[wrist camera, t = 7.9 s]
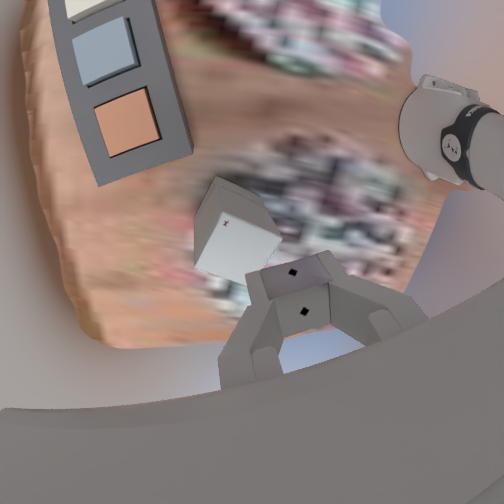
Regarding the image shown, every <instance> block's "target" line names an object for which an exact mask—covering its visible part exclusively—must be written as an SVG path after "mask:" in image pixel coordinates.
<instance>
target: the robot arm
mask: <svg viewBox="0 0 504 504" xmlns="http://www.w3.org/2000/svg"><path fill="white" fill-rule="evenodd" d="M432 82H433V84H432ZM399 133H400V140H401V144H402V147H403V149H404V151H405V153H406V155H407V157H408V158H409V159H410V160H411V161H412V162H413V163H414V164H416V165H417V166H419V167H420V168H421V169H422V171H423V173H424V174H425V176H426V177H427V178H428V179H430V180H436V179H438V178H442V179H444V180H447V181H449V182H451V183H454V184H456V185H460V184H461V183H464V182H466V183H467V184H468V185H470V186H472V187H475V188H478V189H480V190H487V191H489V192H490V193H492V194H494V195H495V196H497V197H499V198H500V199H502V200H503V201H504V115H501V114H500V113H499V112H497V111H496V110H494V109H492V108H491V107H490V106H489V105H487V104H484V103H482V102H480V99H479V97H478V94H477V91H475V90H472V89H467V88H464V87H462V86H459V85H456V84H454V83H451V82H448V81H445V80H442V79H439V78H436V77H433V76H430V75H423V76H422V78H421V79H420V82H419V85H418V87H417V89H416V90H415V91H414V92H413V93H412V94H411V95H410V96H409V98H408V99H407V101H406V102H405V104H404V106H403V109H402V112H401V116H400V122H399ZM245 280H246V284H247V288H248V292H249V296H250V300H251V304H252V305H250V306H247V308H246V310H245V312H244V313H243V315H242V317H241V319H240V320H239V322H238V324H237V326H236V327H235V329H234V331H233V333H232V334H231V336H230V338H229V340H228V341H227V343H226V345H225V346H224V349H223V350H222V352H221V354H220V355H219V357H218V367H219V376H220V385H221V390H218V391H214V392H209V393H204V394H198V395H193V396H187V397H182V398H176V399H169V400H163V401H156V402H148V403H140V404H131V405H122V406H112V407H98V408H80V409H21V408H4V409H2V410H1V411H0V504H504V278H503V279H501V280H500V281H498V282H496V283H495V284H493V285H492V286H490V287H488V288H486V289H485V290H483V291H481V292H480V293H478V294H476V295H475V296H473V297H471V298H469V299H467V300H465V301H464V302H462V303H460V304H458V305H456V306H454V307H452V308H450V309H448V310H447V311H444V312H443V313H440V314H438V315H436V316H434V317H432V318H431V319H429V318H428V317H427V315H426V314H425V313H424V312H423V310H422V309H421V308H420V307H419V306H418V304H417V303H416V302H415V300H414V299H413V298H412V297H411V296H409V295H406V294H403V293H401V292H398V291H395V290H393V289H390V288H387V287H385V286H382V285H379V284H376V283H374V282H371V281H368V280H365V279H363V278H360V277H357V276H354V275H350V276H348V275H347V273H346V272H345V270H344V269H343V268H342V266H341V265H340V264H339V262H338V261H337V259H336V258H335V257H334V255H333V254H332V253H331V251H329V250H326V251H323V252H320V253H317V254H315V255H312V256H309V257H305V258H302V259H299V260H295V261H292V262H287V263H284V264H280V265H276V266H272V267H268V268H265V269H261V270H257V271H253V272H250V273H246V274H245ZM330 323H331V325H333V326H335V327H336V328H338V329H339V330H341V331H343V332H344V333H346V334H347V335H349V336H351V337H352V338H354V339H355V340H357V341H359V342H360V343H362V344H364V345H365V347H363V348H361V349H358V350H355V351H353V352H350V353H348V354H345V355H342V356H339V357H336V358H333V359H330V360H327V361H325V362H322V363H318V364H315V365H312V366H309V367H306V368H303V369H300V370H296V371H293V372H290V373H286V374H283V371H282V368H281V365H280V361H279V358H278V355H279V352H280V349H281V346H282V343H283V340H284V339H283V338H285V337H288V336H291V335H294V334H297V333H300V332H303V331H306V330H310V329H313V328H317V327H320V326H323V325H327V324H330Z"/></svg>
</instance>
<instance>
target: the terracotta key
mask: <svg viewBox="0 0 504 504" xmlns="http://www.w3.org/2000/svg"><path fill="white" fill-rule="evenodd" d="M94 110H95V114H96V117H97V120H98V123H99V126H100V129H101V132H102V135H103V138H104V141H105V144H106V147H107V150H108V153H109V156H110V157H111V156H113V155H116V154H118V153H121V152H124V151H126V150H129V149H131V148H134V147H137V146H139V145H142V144H145V143H148V142H151V141H154V140H156V139H159V138H160V137H161V136H162V135H161V132H160V129H159V125H158V122H157V119H156V115H155V112H154V108H153V105H152V102H151V98H150V95H149V91H148V89H141V90H139V91H136V92H133V93H131V94H128V95H126V96H123V97H121V98H118V99H116V100H113V101H111V102H109V103H106V104H104V105H102V106H100V107H97V108H95V109H94Z"/></svg>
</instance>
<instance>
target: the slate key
mask: <svg viewBox="0 0 504 504" xmlns="http://www.w3.org/2000/svg"><path fill="white" fill-rule="evenodd" d="M72 42H73V47H74V51H75V56H76V60H77V64H78V68H79V72H80V76H81V80H82V83H83V86H86V85H97V84H99V83H102V82H104V81H106V80H108V79H111V78H113V77H115V76H118V75H120V74H123V73H125V72H128V71H130V70H133V69H135V68H138V67H141V62H140V58H139V54H138V51H137V47H136V43H135V39H134V35H133V31H132V26H131V23H130V22H129V21H128V20H126V19H125V18H124V17H123V16H122V17H120V18H117V19H115V20H112V21H110V22H108V23H105V24H103V25H101V26H99V27H96V28H94V29H92V30H90V31H88V32H86V33H84V34H82V35H80V36H78V37H76V38H74V39H72Z"/></svg>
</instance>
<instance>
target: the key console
mask: <svg viewBox="0 0 504 504" xmlns="http://www.w3.org/2000/svg"><path fill="white" fill-rule="evenodd" d="M48 6H49V13H50V20H51V26H52V31H53V37H54V42H55V47H56V52H57V56H58V61H59V65H60V69H61V73H62V77H63V81H64V85H65V89H66V92H67V96H68V100H69V103H70V106H71V110H72V113H73V116H74V120H75V123H76V126H77V129H78V132H79V135H80V138H81V141H82V144H83V147H84V150H85V152H86V155H87V158H88V161H89V163H90V166H91V169H92V171H93V174H94V177H95V179H96V182H97V184H98V187H100V186H103V185H105V184H108V183H110V182H113V181H116V180H118V179H121V178H123V177H126V176H129V175H131V174H134V173H137V172H140V171H143V170H145V169H148V168H151V167H154V166H157V165H160V164H163V163H166V162H169V161H172V160H175V159H179V158H182V157H185V156H188V155H192V154H193V147H194V144H193V141H192V137H191V134H190V130H189V127H188V123H187V120H186V116H185V113H184V109H183V105H182V102H181V98H180V95H179V91H178V87H177V84H176V80H175V76H174V73H173V69H172V65H171V61H170V58H169V54H168V50H167V46H166V42H165V39H164V35H163V31H162V27H161V23H160V19H159V15H158V11H157V7H156V3H155V0H125V1H124V2H121V3H119V4H116V5H114V6H112V7H109V8H107V9H105V10H102V11H100V12H98V13H96V14H94V15H91V16H89V17H87V18H85V19H83V20H81V21H79V22H77V23H76V22H74V21H72V20H70V19H68V17H67V11H66V5H65V0H48ZM122 16H123V17H124V18H125V19H126V20H128V21H129V22H130V23H131V26H132V31H133V35H134V39H135V43H136V47H137V51H138V54H139V58H140V62H141V67H138V68H135V69H133V70H130V71H128V72H125V73H123V74H120V75H118V76H115V77H113V78H111V79H108V80H106V81H104V82H102V83H99V84H97V85H86V86H83V83H82V80H81V76H80V72H79V68H78V64H77V60H76V56H75V51H74V47H73V42H72V39H74V38H76V37H78V36H80V35H82V34H84V33H86V32H88V31H90V30H92V29H94V28H96V27H99V26H101V25H103V24H105V23H108V22H110V21H112V20H115V19H117V18H120V17H122ZM141 89H148V91H149V95H150V98H151V102H152V105H153V108H154V112H155V115H156V119H157V122H158V125H159V129H160V132H161V135H162V136H161V137H160V138H159V139H156V140H154V141H151V142H148V143H145V144H142V145H139V146H137V147H134V148H131V149H129V150H126V151H124V152H121V153H118V154H116V155H113V156H111V157H110V156H109V153H108V150H107V147H106V144H105V141H104V138H103V135H102V132H101V129H100V126H99V123H98V120H97V117H96V114H95V110H94V109H95V108H97V107H100V106H102V105H104V104H106V103H109V102H111V101H113V100H116V99H118V98H121V97H123V96H126V95H128V94H131V93H133V92H136V91H139V90H141Z"/></svg>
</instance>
